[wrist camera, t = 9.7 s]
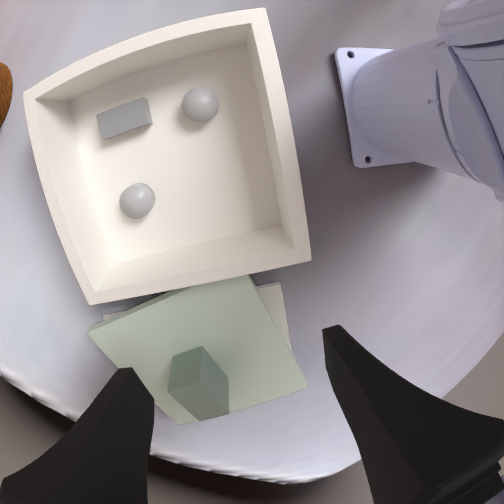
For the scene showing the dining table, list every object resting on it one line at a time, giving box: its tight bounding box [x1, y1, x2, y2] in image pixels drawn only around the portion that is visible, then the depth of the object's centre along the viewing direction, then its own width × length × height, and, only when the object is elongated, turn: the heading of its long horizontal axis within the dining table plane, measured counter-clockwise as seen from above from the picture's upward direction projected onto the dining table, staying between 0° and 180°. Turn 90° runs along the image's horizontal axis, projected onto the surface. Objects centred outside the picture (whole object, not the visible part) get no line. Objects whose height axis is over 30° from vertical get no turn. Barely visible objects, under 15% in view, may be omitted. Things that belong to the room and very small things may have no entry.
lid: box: [87, 274, 309, 425], centre depth 20 cm, size 13×13×5 cm
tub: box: [23, 8, 312, 305], centre depth 14 cm, size 13×13×4 cm
